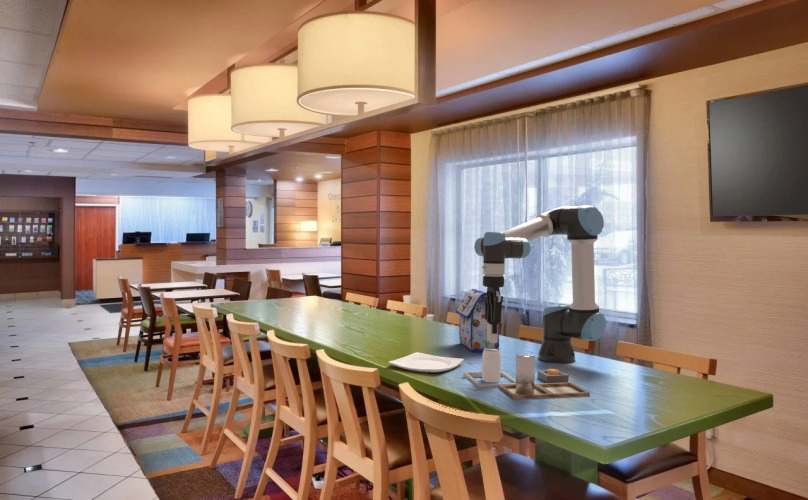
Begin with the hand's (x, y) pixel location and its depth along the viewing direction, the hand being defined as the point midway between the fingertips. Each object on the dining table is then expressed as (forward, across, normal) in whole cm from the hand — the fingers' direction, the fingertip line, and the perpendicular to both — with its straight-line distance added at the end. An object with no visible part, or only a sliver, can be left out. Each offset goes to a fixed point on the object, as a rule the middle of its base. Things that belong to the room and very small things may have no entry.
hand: (492, 341), depth 199 cm
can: (+15, 0, 0) cm, 15 cm away
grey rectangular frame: (+15, 0, 0) cm, 15 cm away
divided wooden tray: (+15, +17, +12) cm, 25 cm away
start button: (+14, +3, +22) cm, 26 cm away
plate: (+15, -28, -17) cm, 36 cm away
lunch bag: (+15, -61, +15) cm, 65 cm away
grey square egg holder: (+15, +3, +22) cm, 26 cm away
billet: (+14, +17, +5) cm, 22 cm away
